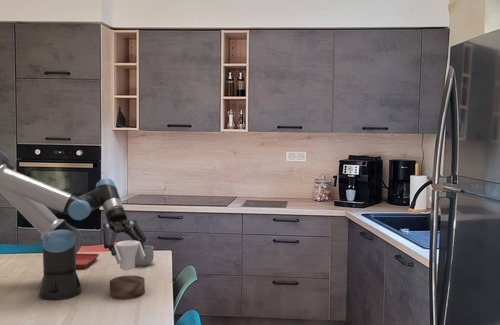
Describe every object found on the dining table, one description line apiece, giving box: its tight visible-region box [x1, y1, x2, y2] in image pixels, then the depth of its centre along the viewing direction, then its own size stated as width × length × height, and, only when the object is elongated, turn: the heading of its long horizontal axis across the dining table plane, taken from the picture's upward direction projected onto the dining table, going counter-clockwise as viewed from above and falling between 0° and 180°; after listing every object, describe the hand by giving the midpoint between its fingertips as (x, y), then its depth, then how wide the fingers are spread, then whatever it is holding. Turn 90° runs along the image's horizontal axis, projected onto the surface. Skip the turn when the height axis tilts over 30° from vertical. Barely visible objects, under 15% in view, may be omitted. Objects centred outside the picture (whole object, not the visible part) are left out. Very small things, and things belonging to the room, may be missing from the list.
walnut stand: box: [109, 275, 146, 300], centre depth 191 cm, size 13×13×5 cm
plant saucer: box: [76, 253, 100, 270], centre depth 232 cm, size 18×18×3 cm
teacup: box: [135, 245, 154, 267], centre depth 233 cm, size 14×11×8 cm
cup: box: [115, 239, 140, 271], centre depth 190 cm, size 9×9×10 cm
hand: (131, 259), depth 188 cm, fingers closed on cup, 9 cm apart
